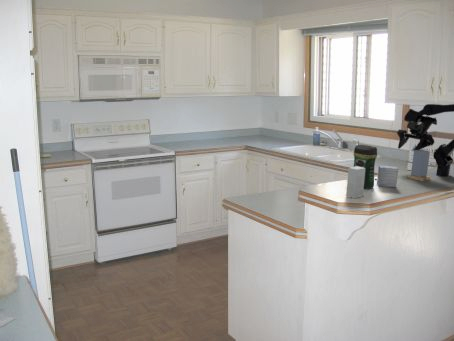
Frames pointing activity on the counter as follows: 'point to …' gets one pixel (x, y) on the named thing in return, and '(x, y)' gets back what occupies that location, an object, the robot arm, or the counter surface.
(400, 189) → the counter surface
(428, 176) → the top slab
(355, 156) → the coffee jar
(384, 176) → the medicine box
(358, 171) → the skincare box
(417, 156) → the slate block
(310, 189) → the counter surface
